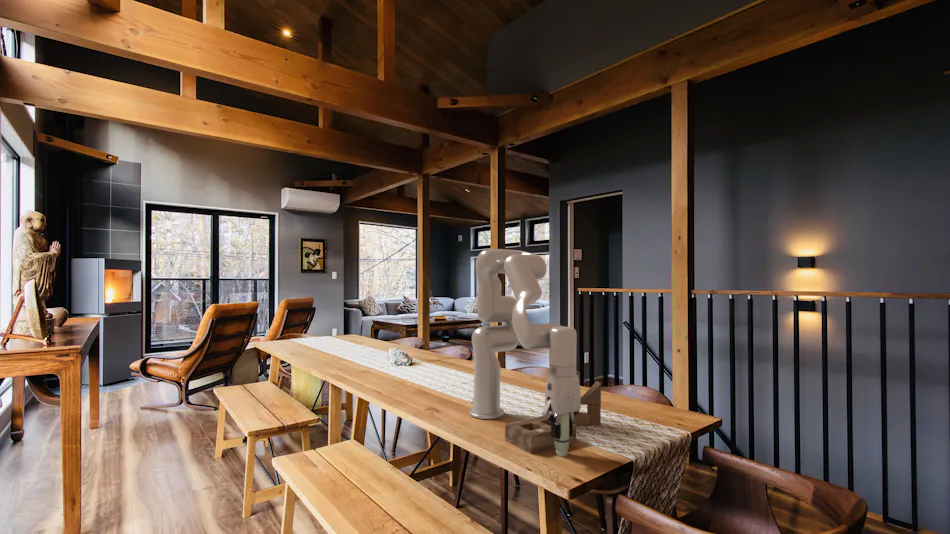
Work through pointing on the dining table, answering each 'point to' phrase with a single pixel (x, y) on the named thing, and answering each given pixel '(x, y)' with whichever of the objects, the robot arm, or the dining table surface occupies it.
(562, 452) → the peg
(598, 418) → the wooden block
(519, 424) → the board
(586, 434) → the dining table surface
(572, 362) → the robot arm
